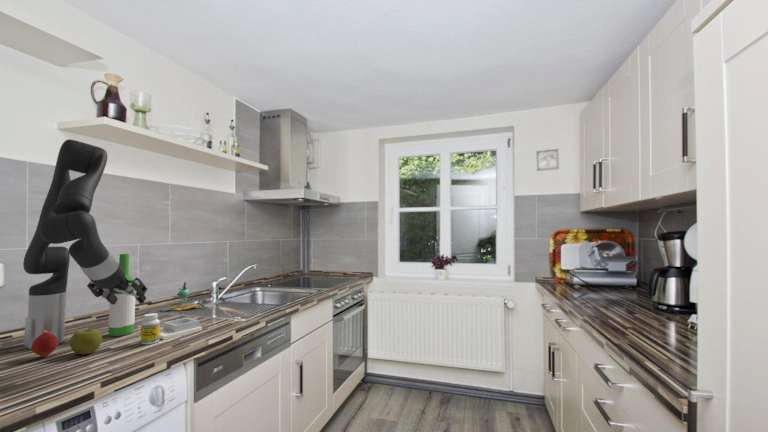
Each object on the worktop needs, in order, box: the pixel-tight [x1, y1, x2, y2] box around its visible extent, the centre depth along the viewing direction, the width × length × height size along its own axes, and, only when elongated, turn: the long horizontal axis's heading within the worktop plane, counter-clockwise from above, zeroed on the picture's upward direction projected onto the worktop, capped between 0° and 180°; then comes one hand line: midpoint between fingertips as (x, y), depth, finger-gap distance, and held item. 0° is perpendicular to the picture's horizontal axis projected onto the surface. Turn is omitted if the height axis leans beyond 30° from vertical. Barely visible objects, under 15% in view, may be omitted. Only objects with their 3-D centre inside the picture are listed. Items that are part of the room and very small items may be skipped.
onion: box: [31, 331, 59, 358], centre depth 105 cm, size 6×6×8 cm
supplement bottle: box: [140, 312, 161, 346], centre depth 119 cm, size 5×5×10 cm
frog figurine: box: [167, 281, 206, 311], centre depth 171 cm, size 10×18×15 cm, turn 96°
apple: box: [69, 328, 103, 355], centre depth 108 cm, size 8×8×7 cm
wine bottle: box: [108, 253, 136, 337], centre depth 129 cm, size 8×8×30 cm
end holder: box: [159, 317, 203, 341], centre depth 130 cm, size 15×12×4 cm
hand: (129, 301), depth 108 cm, fingers open, 8 cm apart
